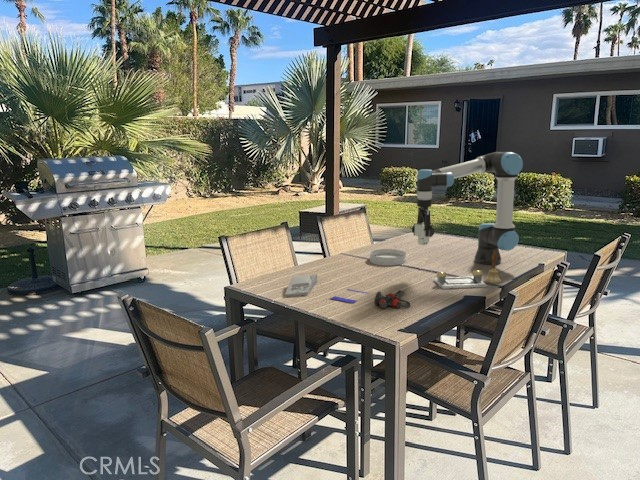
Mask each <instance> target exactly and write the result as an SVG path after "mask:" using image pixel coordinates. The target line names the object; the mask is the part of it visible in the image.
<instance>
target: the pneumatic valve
mask: <svg viewBox="0 0 640 480" xmlns="http://www.w3.org/2000/svg"><path fill="white" fill-rule="evenodd" d="M427 228H428V227H427ZM424 229H425V228H424V222H423V223H417V222H416V223H415V224H413V225H412V228H411V231H412V233H413V236H414V237H415V236H416V237H418V236H419V237H422V238H418V239H417V243H418V245H421V246H425V245H428V244H429V242H424ZM434 234H435V228H434V227H433V224H431V230H429V238H432V237H433V236H434Z"/></svg>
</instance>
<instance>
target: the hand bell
mask: <svg viewBox="0 0 640 480" xmlns="http://www.w3.org/2000/svg"><path fill="white" fill-rule="evenodd" d="M496 261H497V253H496V251H494V252H493V254H492V262H493V263H492V264H491V269H489V270H488V272H487V273H488V274H487V275H486V277H485V278H484V279H483V280H484V281H485V282H487V283H491V284H492V283H493V284H499V283H501V282H502V279H500V277H499V270H497V269H496V267H497V264H496Z"/></svg>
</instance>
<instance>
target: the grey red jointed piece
mask: <svg viewBox="0 0 640 480" xmlns="http://www.w3.org/2000/svg"><path fill="white" fill-rule="evenodd" d="M404 293H405V290H401V289H399V290H398V291H396V292H394V293H392V292H389V293H387V294H386V295H385V296H384V295H382V292H381V291H377V292H376V294H375V297H374V303H373V304H374V306H378V305H379V307H380V308H382V309H386V308H387V307H392V309H400V308H401V307H403V308H408V307H411V303H410V302H409V301H408V300H405V299H402V298H399V297H401V295H403V294H404ZM402 303H405V304H402Z"/></svg>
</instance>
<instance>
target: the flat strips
mask: <svg viewBox="0 0 640 480" xmlns="http://www.w3.org/2000/svg"><path fill="white" fill-rule="evenodd" d="M346 291H348V292H349V291H350V292H355V293H362V294H370V292H364V291H360V290H354V289H346ZM329 299H331V300H335V301H341V302H346V303H349V304H350V303H351V304H353V303H355V302H357V300H355V299H350V298H346V297H345V298H344V297H341V296H340V297H339V296H332V297H329Z"/></svg>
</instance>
